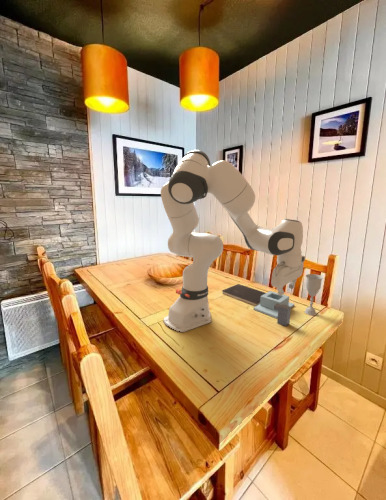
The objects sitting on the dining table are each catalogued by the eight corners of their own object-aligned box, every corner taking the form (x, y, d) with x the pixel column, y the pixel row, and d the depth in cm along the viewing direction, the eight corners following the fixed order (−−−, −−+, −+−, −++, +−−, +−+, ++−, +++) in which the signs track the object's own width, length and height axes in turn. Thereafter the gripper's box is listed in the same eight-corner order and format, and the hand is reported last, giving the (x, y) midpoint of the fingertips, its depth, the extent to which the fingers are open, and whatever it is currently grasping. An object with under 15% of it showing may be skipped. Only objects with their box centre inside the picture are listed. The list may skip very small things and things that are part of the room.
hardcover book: (256, 307, 113) (256, 303, 113) (221, 294, 130) (221, 290, 130) (272, 298, 124) (273, 294, 123) (238, 287, 141) (239, 283, 140)
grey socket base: (276, 318, 102) (277, 306, 101) (253, 309, 110) (254, 298, 109) (294, 305, 114) (295, 294, 113) (271, 298, 122) (272, 288, 121)
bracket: (286, 326, 95) (287, 309, 94) (272, 321, 100) (274, 304, 98) (289, 324, 97) (290, 307, 96) (276, 319, 102) (277, 302, 100)
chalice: (312, 317, 102) (316, 280, 98) (298, 311, 108) (302, 275, 104) (322, 314, 105) (326, 277, 101) (309, 308, 111) (312, 273, 107)
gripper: (284, 266, 82) (281, 301, 85) (307, 256, 95) (304, 286, 98) (268, 263, 87) (266, 296, 90) (292, 253, 100) (289, 283, 103)
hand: (286, 291), depth 94 cm, fingers open, 8 cm apart
